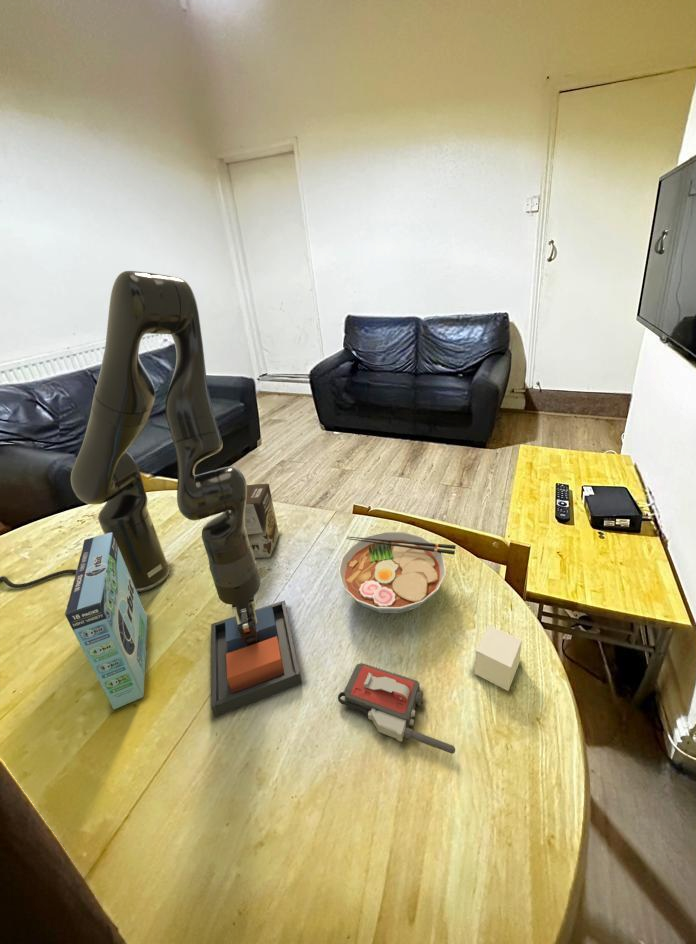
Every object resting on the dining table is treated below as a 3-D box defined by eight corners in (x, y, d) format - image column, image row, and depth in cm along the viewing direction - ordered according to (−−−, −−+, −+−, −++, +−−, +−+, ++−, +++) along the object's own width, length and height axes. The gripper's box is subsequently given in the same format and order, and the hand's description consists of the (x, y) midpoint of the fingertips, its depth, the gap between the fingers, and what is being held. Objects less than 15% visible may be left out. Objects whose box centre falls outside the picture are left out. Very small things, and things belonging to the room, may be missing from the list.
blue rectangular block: (230, 656, 77) (225, 641, 76) (229, 635, 82) (225, 621, 80) (278, 639, 80) (275, 624, 79) (275, 619, 84) (271, 605, 83)
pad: (232, 693, 71) (227, 678, 69) (230, 668, 75) (226, 653, 74) (284, 673, 74) (280, 658, 72) (280, 650, 78) (276, 635, 76)
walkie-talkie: (331, 716, 67) (453, 764, 60) (328, 699, 65) (453, 746, 58) (354, 668, 74) (465, 705, 67) (352, 652, 73) (465, 688, 66)
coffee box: (271, 557, 102) (259, 503, 96) (245, 558, 103) (232, 504, 96) (280, 534, 111) (269, 482, 104) (256, 534, 111) (244, 483, 104)
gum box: (122, 626, 86) (82, 539, 76) (149, 616, 88) (113, 530, 78) (112, 711, 70) (60, 614, 60) (146, 697, 72) (100, 601, 62)
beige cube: (519, 663, 74) (522, 639, 71) (508, 691, 69) (511, 667, 67) (486, 647, 77) (488, 624, 74) (474, 673, 72) (475, 650, 70)
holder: (214, 717, 68) (211, 707, 67) (214, 633, 83) (211, 623, 82) (302, 683, 73) (300, 673, 71) (286, 609, 88) (284, 600, 86)
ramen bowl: (320, 623, 84) (315, 593, 80) (356, 548, 104) (353, 522, 100) (443, 648, 77) (443, 616, 74) (456, 563, 97) (457, 535, 94)
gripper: (212, 551, 79) (231, 615, 86) (213, 606, 66) (235, 675, 74) (252, 540, 81) (268, 603, 88) (260, 591, 69) (277, 660, 76)
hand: (253, 636), depth 81 cm, fingers closed on blue rectangular block, 5 cm apart
